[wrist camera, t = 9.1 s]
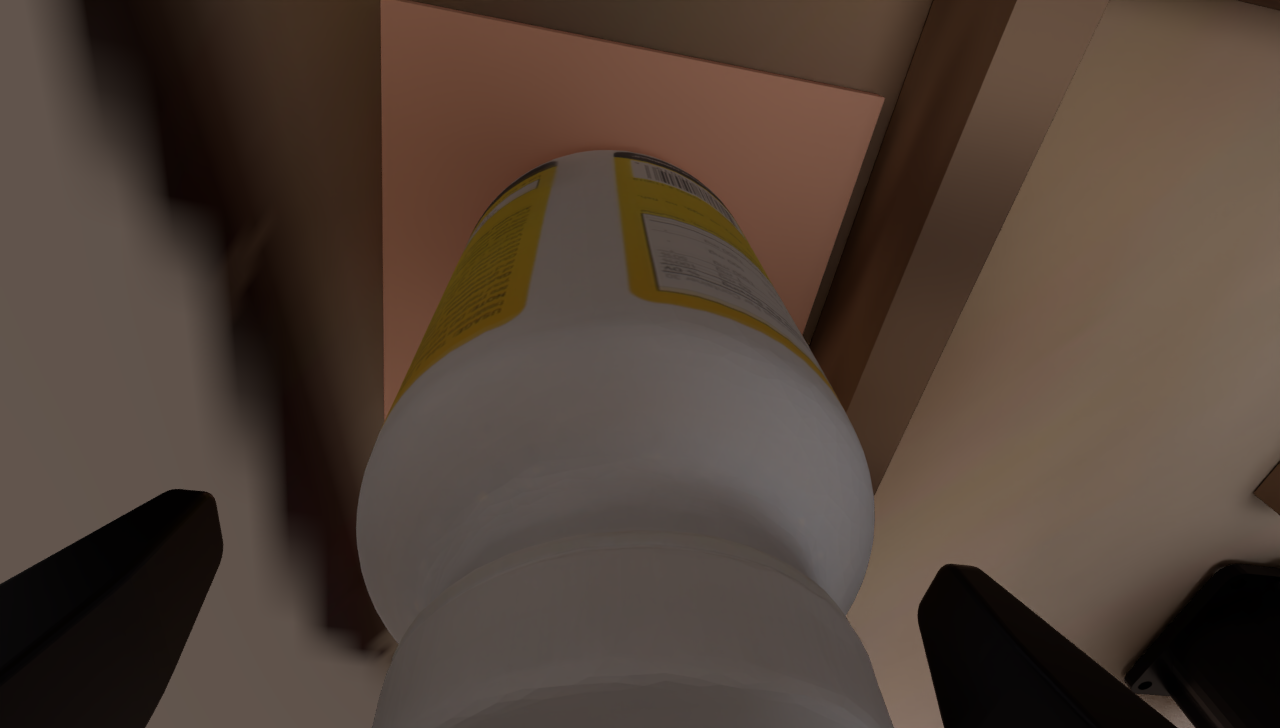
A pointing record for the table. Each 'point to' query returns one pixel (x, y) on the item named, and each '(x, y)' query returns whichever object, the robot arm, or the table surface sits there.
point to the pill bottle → (617, 478)
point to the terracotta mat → (593, 146)
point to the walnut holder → (946, 201)
